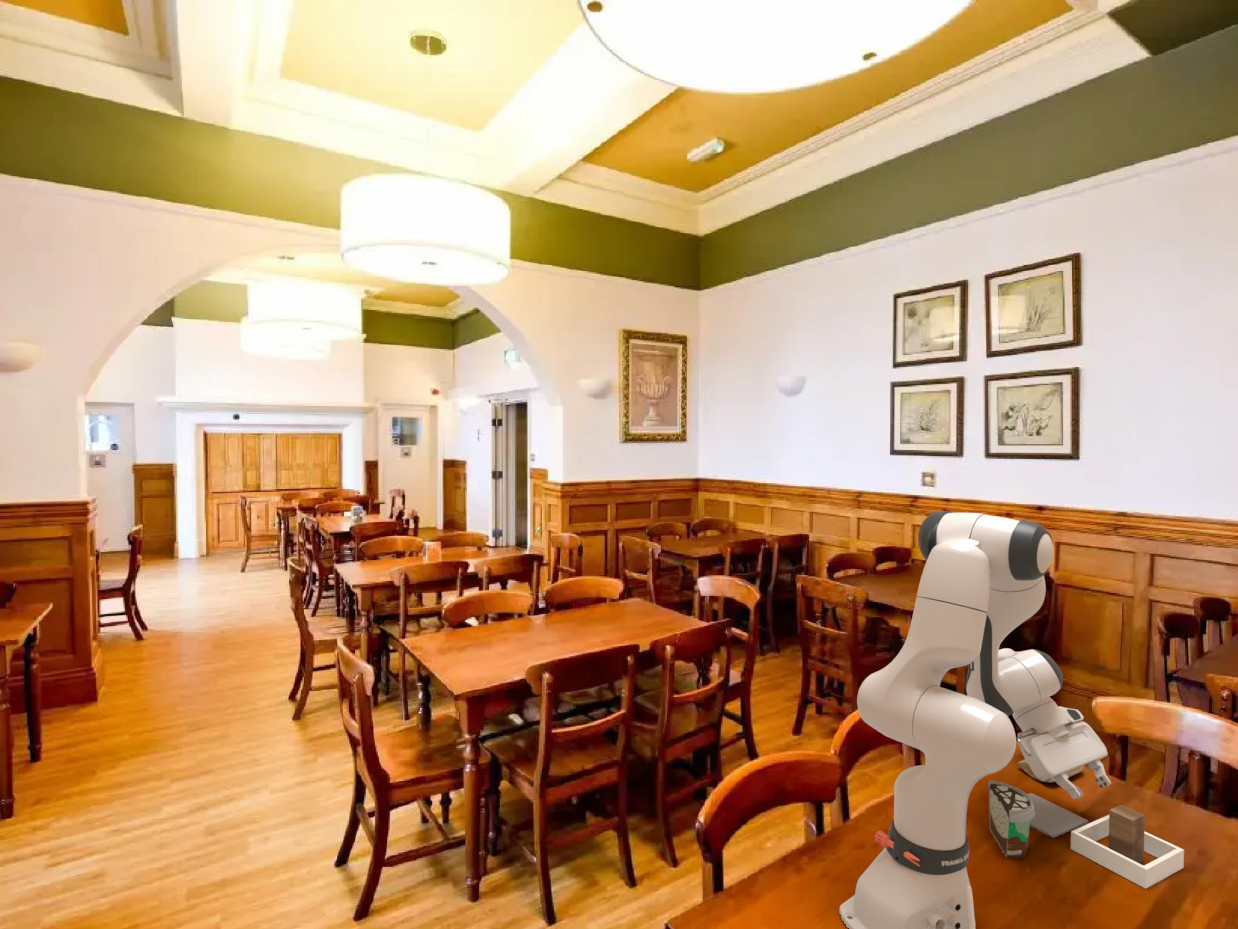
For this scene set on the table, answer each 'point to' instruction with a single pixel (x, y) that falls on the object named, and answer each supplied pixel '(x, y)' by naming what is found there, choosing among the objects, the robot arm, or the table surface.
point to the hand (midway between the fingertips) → (1093, 791)
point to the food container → (1010, 818)
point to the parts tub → (1131, 870)
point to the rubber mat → (1053, 818)
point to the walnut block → (1127, 832)
